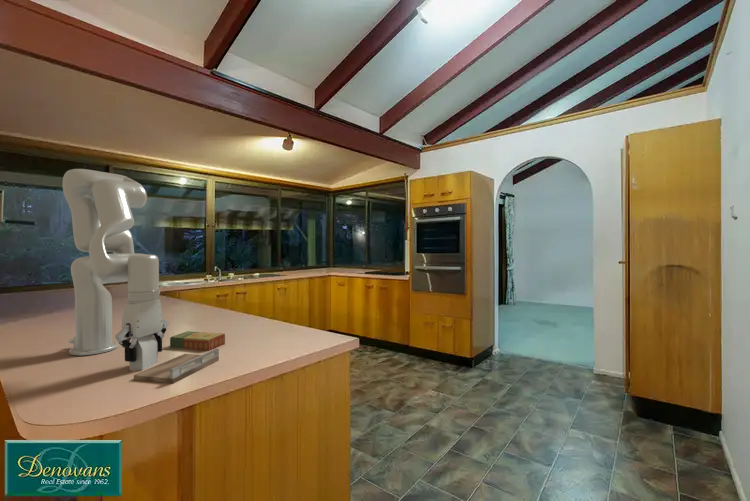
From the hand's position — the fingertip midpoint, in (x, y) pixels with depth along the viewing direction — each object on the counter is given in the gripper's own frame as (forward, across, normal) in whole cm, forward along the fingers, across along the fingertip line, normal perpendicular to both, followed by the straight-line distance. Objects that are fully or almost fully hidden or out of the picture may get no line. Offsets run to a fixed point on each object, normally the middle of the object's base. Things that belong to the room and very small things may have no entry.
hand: (144, 355), depth 99 cm
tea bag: (+3, 0, 0) cm, 3 cm away
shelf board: (+3, 0, +12) cm, 12 cm away
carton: (+4, -21, +1) cm, 21 cm away
